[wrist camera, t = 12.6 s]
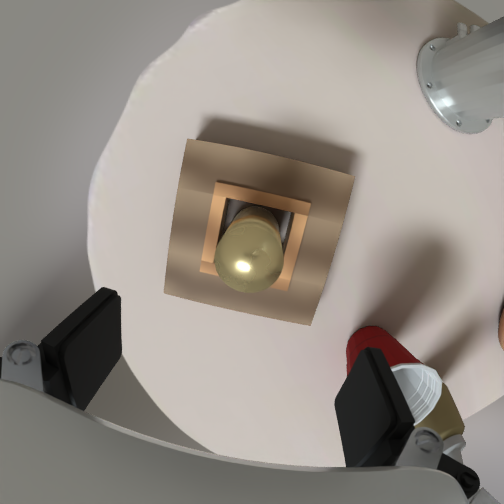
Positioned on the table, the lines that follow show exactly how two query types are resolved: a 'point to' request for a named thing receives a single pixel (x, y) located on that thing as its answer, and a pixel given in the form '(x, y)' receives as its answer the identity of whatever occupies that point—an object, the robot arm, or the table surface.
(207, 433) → the table surface
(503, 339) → the ceramic jug
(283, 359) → the table surface
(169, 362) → the table surface
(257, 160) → the walnut plate
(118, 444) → the robot arm
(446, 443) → the squeeze bottle
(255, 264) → the brass peg
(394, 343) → the plastic cup
